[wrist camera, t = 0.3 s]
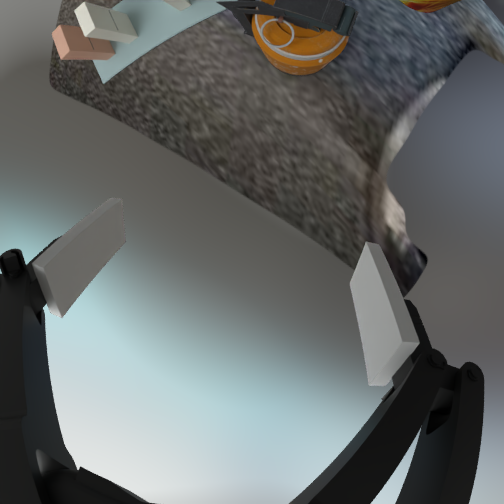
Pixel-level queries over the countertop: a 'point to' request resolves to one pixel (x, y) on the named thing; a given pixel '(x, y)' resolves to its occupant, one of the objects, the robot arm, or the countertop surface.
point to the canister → (296, 31)
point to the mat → (152, 29)
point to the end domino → (80, 45)
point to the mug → (428, 4)
